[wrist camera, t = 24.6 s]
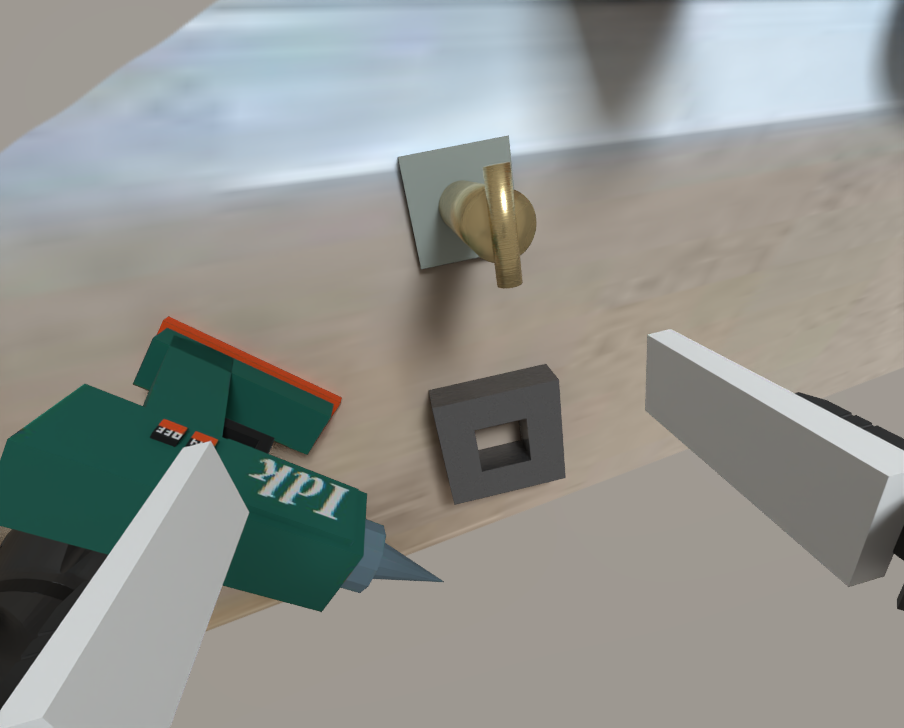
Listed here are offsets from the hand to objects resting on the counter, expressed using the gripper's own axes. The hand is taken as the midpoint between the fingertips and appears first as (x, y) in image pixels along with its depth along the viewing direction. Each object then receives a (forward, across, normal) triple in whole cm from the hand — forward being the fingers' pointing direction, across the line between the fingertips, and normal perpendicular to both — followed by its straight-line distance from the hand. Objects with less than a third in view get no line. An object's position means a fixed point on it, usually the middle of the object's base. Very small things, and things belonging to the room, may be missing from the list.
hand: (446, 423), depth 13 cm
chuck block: (+31, +7, -23) cm, 40 cm away
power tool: (+32, -14, -15) cm, 38 cm away
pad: (+31, +7, +3) cm, 32 cm away
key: (+30, +7, +3) cm, 31 cm away
